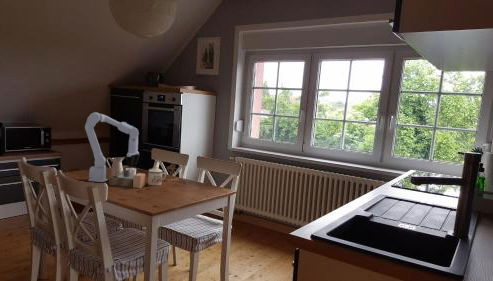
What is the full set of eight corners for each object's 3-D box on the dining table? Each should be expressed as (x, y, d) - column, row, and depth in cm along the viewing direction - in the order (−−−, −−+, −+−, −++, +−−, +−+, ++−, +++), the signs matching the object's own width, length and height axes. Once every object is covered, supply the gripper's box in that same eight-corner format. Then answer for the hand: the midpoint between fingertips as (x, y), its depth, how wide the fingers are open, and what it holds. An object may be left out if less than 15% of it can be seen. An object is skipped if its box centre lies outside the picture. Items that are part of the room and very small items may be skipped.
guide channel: (108, 184, 216) (109, 177, 216) (112, 182, 222) (113, 175, 221) (132, 186, 215) (132, 179, 215) (135, 184, 221) (136, 178, 220)
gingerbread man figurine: (176, 179, 246) (177, 163, 245) (178, 180, 243) (180, 164, 242) (164, 180, 240) (165, 163, 239) (167, 181, 237) (168, 164, 236)
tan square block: (132, 187, 214) (133, 175, 213) (137, 184, 222) (138, 173, 221) (140, 188, 213) (140, 176, 213) (144, 185, 221) (145, 173, 221)
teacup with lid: (151, 186, 221) (152, 168, 220) (145, 183, 227) (146, 165, 226) (168, 184, 229) (169, 167, 228) (161, 181, 235) (162, 164, 234)
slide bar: (117, 180, 217) (118, 169, 216) (119, 179, 220) (120, 169, 219) (139, 183, 216) (139, 171, 215) (141, 182, 219) (141, 171, 218)
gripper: (134, 147, 222) (133, 168, 223) (143, 145, 236) (142, 165, 237) (124, 146, 222) (123, 167, 223) (133, 144, 236) (132, 164, 238)
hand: (132, 166), depth 230 cm, fingers open, 7 cm apart
